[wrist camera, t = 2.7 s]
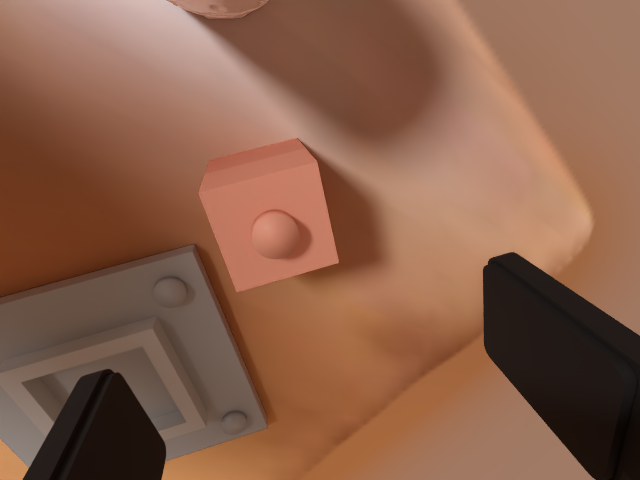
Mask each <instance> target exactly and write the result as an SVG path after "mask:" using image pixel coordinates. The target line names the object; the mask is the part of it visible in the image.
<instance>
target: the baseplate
mask: <svg viewBox="0 0 640 480" xmlns="http://www.w3.org/2000/svg"><path fill="white" fill-rule="evenodd" d="M104 369H111V370H112V371H113V372H114V373H116V372H119V373H120V374H121V375H122V376H123V377H124V379H125V380H126V382H127V384H128V385H129V387H130V388H131V390H132V391H133V393H134V395H135V396H136V398H137V399H138V401H139V402H140V404H141V406H142V407H143V409H144V410H145V412H146V413H147V415H148V417H149V418H150V420H151V421H152V423H153V424H154V426H155V428H156V429H157V431H158V432H159V434H160V436H161V437H162V439H163V440H164V442H165V445H166V460H165V461H168V460H171V459H174V458H177V457H180V456H183V455H186V454H189V453H192V452H195V451H199V450H202V449H205V448H208V447H211V446H214V445H217V444H220V443H223V442H226V441H229V440H232V439H236V438H239V437H242V436H245V435H248V434H251V433H254V432H257V431H260V430H263V429H266V428H268V423H267V416H266V413H265V411H264V409H263V406H262V404H261V401H260V399H259V397H258V394H257V392H256V390H255V387H254V385H253V382H252V380H251V378H250V375H249V373H248V371H247V368H246V366H245V363H244V361H243V359H242V356H241V354H240V352H239V349H238V347H237V344H236V342H235V340H234V337H233V335H232V333H231V330H230V328H229V325H228V323H227V321H226V318H225V316H224V314H223V311H222V309H221V306H220V304H219V302H218V299H217V297H216V295H215V292H214V290H213V287H212V285H211V283H210V280H209V278H208V276H207V273H206V271H205V268H204V266H203V264H202V261H201V259H200V257H199V254H198V252H197V249H196V247H195V245H194V244H192V245H189V246H185V247H182V248H178V249H174V250H171V251H167V252H163V253H160V254H156V255H153V256H149V257H145V258H142V259H138V260H134V261H131V262H127V263H124V264H120V265H116V266H113V267H109V268H105V269H102V270H98V271H95V272H91V273H87V274H84V275H80V276H76V277H73V278H69V279H66V280H62V281H58V282H55V283H51V284H47V285H44V286H40V287H37V288H33V289H29V290H26V291H22V292H18V293H15V294H11V295H8V296H4V297H0V438H1V439H2V441H3V442H4V443H5V444H6V445H7V446H8V447H9V448H10V449H11V450H12V451H13V452H14V453H15V454H16V455H17V456H18V457H19V458H20V459H21V460H22V461H23V462H24V463H25V464H26V465H27V466H28V467H30V466H31V464H32V462H33V460H34V458H35V457H36V455H37V453H38V451H39V449H40V448H41V446H42V444H43V442H44V440H45V439H46V437H47V435H48V433H49V431H50V430H51V428H52V426H53V424H54V423H55V421H56V419H57V417H58V415H59V414H60V412H61V410H62V408H63V406H64V405H65V403H66V401H67V399H68V397H69V396H70V394H71V392H72V390H73V388H74V387H75V385H76V383H77V381H78V380H79V379H80V377H82V376H84V375H87V374H90V373H94V372H97V371H101V370H104Z"/></svg>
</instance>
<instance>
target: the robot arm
mask: <svg viewBox="0 0 640 480" xmlns="http://www.w3.org/2000/svg"><path fill="white" fill-rule="evenodd" d="M483 304H484V346H485V349H486V352H487V354H488V355H489V357H490V358H491V359H492V361H493V362H494V363H495V364H496V365H497V366H498V368H499V369H500V370H501V371H502V372H503V374H504V375H505V376H506V377H507V378H508V379H509V381H510V382H511V383H512V384H513V385H514V386H515V388H516V389H517V390H518V391H519V392H520V393H521V395H522V396H523V397H524V398H525V399H526V400H527V402H528V403H529V404H530V405H531V406H532V408H533V409H534V410H535V411H536V412H537V413H538V415H539V416H540V417H541V418H542V419H543V420H544V422H545V423H546V424H547V425H548V426H549V427H550V429H551V430H552V431H553V432H554V433H555V434H556V436H557V437H558V438H559V439H560V440H561V442H562V443H563V444H564V445H565V446H566V447H567V449H568V450H569V451H570V452H571V453H572V455H573V456H574V457H575V458H576V459H577V460H578V462H579V463H580V464H581V465H582V466H583V467H584V469H585V470H586V471H587V472H588V473H589V474H590V475H591V476H592V477H593V478H594V479H596V480H640V336H639V335H638V334H636V333H635V332H633V331H632V330H630V329H629V328H627V327H626V326H624V325H623V324H621V323H620V322H618V321H617V320H615V319H614V318H612V317H611V316H609V315H608V314H606V313H605V312H603V311H602V310H600V309H599V308H597V307H596V306H594V305H593V304H591V303H590V302H588V301H587V300H585V299H584V298H582V297H581V296H579V295H578V294H576V293H575V292H573V291H572V290H570V289H569V288H567V287H566V286H564V285H563V284H561V283H560V282H558V281H557V280H555V279H554V278H552V277H551V276H550V275H548V274H547V273H545V272H544V271H542V270H541V269H539V268H538V267H536V266H535V265H533V264H532V263H530V262H529V261H527V260H526V259H524V258H523V257H521V256H520V255H518V254H516V253H514V252H510V253H507V254H503V255H500V256H496V257H493V258H491V259H489V261H488V265H486V266H484V268H483ZM165 460H166V445H165V442H164V440H163V439H162V437H161V436H160V434H159V432H158V431H157V429H156V428H155V426H154V424H153V423H152V421H151V420H150V418H149V417H148V415H147V413H146V412H145V410H144V409H143V407H142V406H141V404H140V402H139V401H138V399H137V398H136V396H135V395H134V393H133V391H132V390H131V388H130V387H129V385H128V384H127V382H126V380H125V379H124V377H123V376H122V375H121V374H120V373H119V372H116V373H114V372H113V371H112V370H111V369H104V370H101V371H97V372H94V373H90V374H87V375H84V376H82V377H80V379H79V380H78V381H77V383H76V385H75V387H74V388H73V390H72V392H71V394H70V396H69V397H68V399H67V401H66V403H65V405H64V406H63V408H62V410H61V412H60V414H59V415H58V417H57V419H56V421H55V423H54V424H53V426H52V428H51V430H50V431H49V433H48V435H47V437H46V439H45V440H44V442H43V444H42V446H41V448H40V449H39V451H38V453H37V455H36V457H35V458H34V460H33V462H32V464H31V466H30V467H29V469H28V471H27V473H26V474H25V476H24V478H23V480H161V478H162V474H163V469H164V464H165Z"/></svg>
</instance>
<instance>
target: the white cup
mask: <svg viewBox="0 0 640 480" xmlns="http://www.w3.org/2000/svg"><path fill="white" fill-rule="evenodd" d="M167 1H169V2H171V3H173V4H174V5H176V6H179V7H180V8H182V9H185V10H187V11H190V12H193V13H196V14H199V15H201V16H203V17H205V18H208V19H226V18H242V17H244V16H245V15H247V14H249V13H250V12H252V11H254V10H256V9H258V8H260V7H262V6H263V5H264V4H266V3H267V2H268V1H270V0H167Z"/></svg>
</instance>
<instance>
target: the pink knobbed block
mask: <svg viewBox="0 0 640 480" xmlns="http://www.w3.org/2000/svg"><path fill="white" fill-rule="evenodd" d="M198 194H199V196H200V199H201V201H202V204H203V207H204V209H205V212H206V214H207V217H208V220H209V222H210V225H211V227H212V230H213V232H214V235H215V238H216V240H217V243H218V245H219V248H220V251H221V253H222V256H223V258H224V261H225V264H226V266H227V269H228V271H229V274H230V277H231V279H232V282H233V284H234V287H235V290H236V292H240V291H243V290H247V289H250V288H254V287H257V286H261V285H264V284H268V283H271V282H274V281H278V280H281V279H285V278H288V277H292V276H295V275H299V274H302V273H306V272H309V271H313V270H316V269H319V268H323V267H326V266H330V265H333V264H337V263H339V260H338V256H337V251H336V246H335V242H334V237H333V233H332V228H331V223H330V219H329V214H328V209H327V205H326V200H325V196H324V191H323V186H322V182H321V177H320V173H319V168H318V163H317V161H316V160H315V159H314V157H313V156H312V155H311V154H310V153H309V151H308V150H307V149H306V148H305V147H304V146H303V144H302V143H301V142H300V141H299V140H298V138H295V139H292V140H288V141H284V142H280V143H276V144H272V145H268V146H264V147H260V148H256V149H253V150H249V151H245V152H241V153H237V154H233V155H229V156H225V157H221V158H218V159H214V160H210V161H209V164H208V166H207V169H206V172H205V175H204V178H203V181H202V184H201V186H200V189H199V192H198Z"/></svg>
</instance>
